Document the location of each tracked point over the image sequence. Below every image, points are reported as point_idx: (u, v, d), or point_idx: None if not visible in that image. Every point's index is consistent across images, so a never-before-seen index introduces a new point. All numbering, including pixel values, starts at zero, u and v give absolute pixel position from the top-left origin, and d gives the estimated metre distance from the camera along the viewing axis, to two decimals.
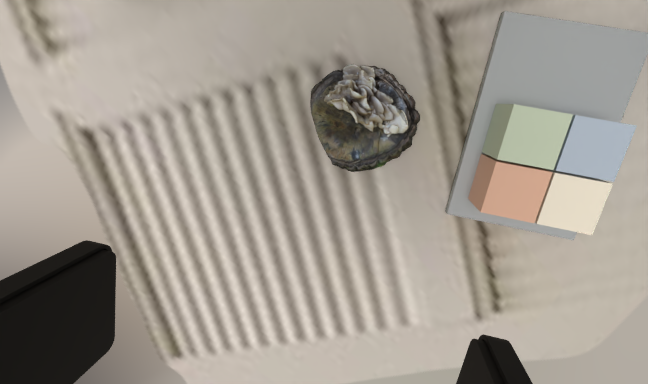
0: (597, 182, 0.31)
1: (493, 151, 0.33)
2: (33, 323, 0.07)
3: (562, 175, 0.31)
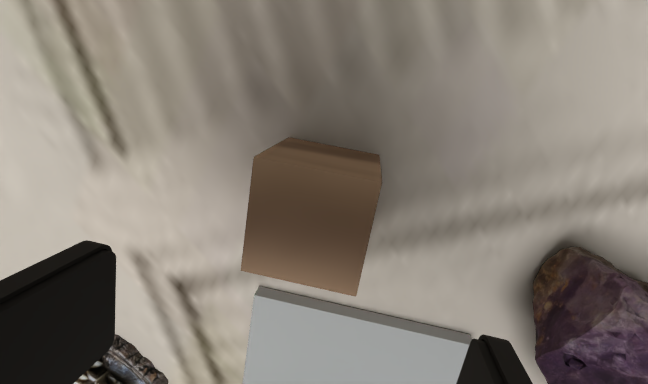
0: None
1: None
2: (33, 323, 0.07)
3: None
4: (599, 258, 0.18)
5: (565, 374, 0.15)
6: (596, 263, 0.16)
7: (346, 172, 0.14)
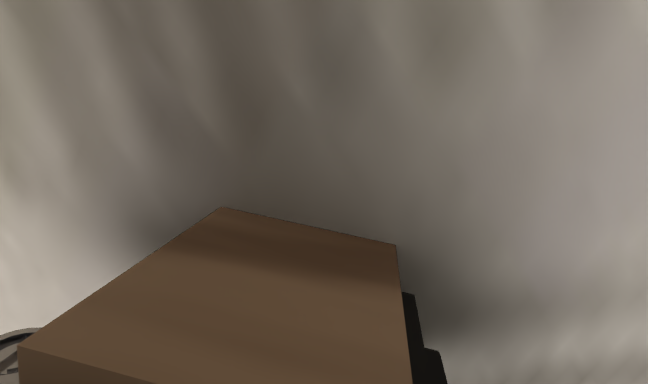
0: None
1: None
2: None
3: None
4: None
5: None
6: None
7: None
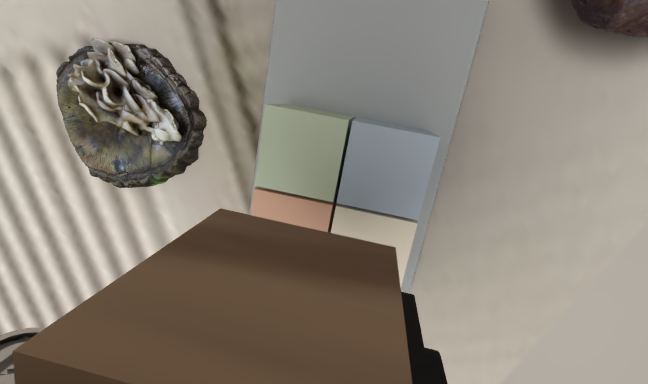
0: (395, 221, 0.21)
1: None
2: None
3: (346, 210, 0.21)
4: None
5: None
6: None
7: None
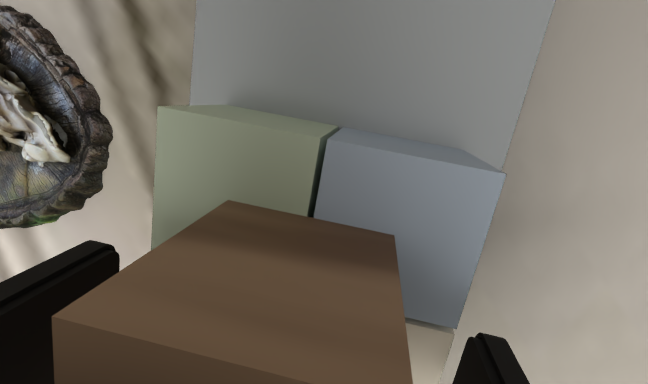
0: (412, 328, 0.11)
1: None
2: (38, 322, 0.07)
3: None
4: None
5: None
6: None
7: (314, 354, 0.05)
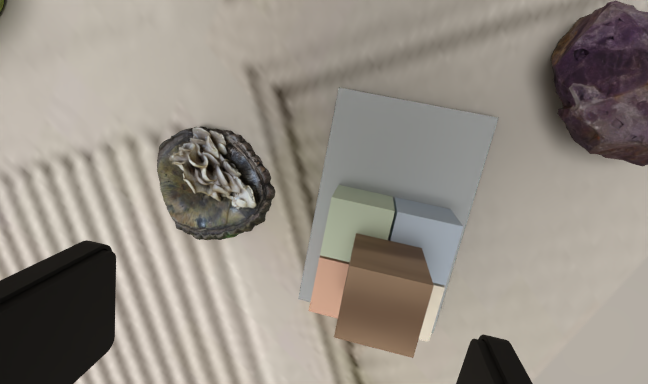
0: None
1: None
2: (33, 323, 0.07)
3: None
4: None
5: (575, 67, 0.23)
6: (596, 11, 0.24)
7: (409, 276, 0.21)
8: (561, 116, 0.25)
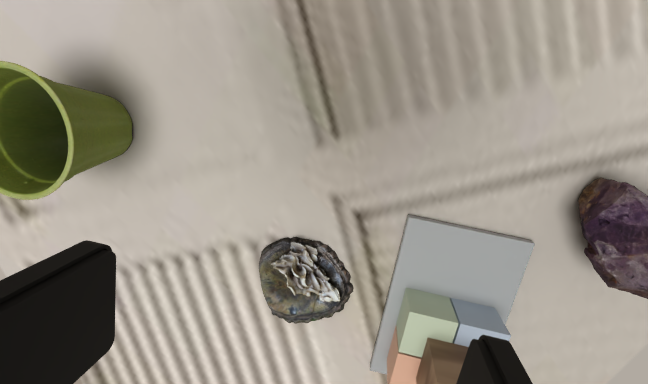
0: None
1: (398, 338, 0.38)
2: (33, 323, 0.07)
3: None
4: None
5: (599, 230, 0.31)
6: None
7: None
8: (587, 255, 0.33)
